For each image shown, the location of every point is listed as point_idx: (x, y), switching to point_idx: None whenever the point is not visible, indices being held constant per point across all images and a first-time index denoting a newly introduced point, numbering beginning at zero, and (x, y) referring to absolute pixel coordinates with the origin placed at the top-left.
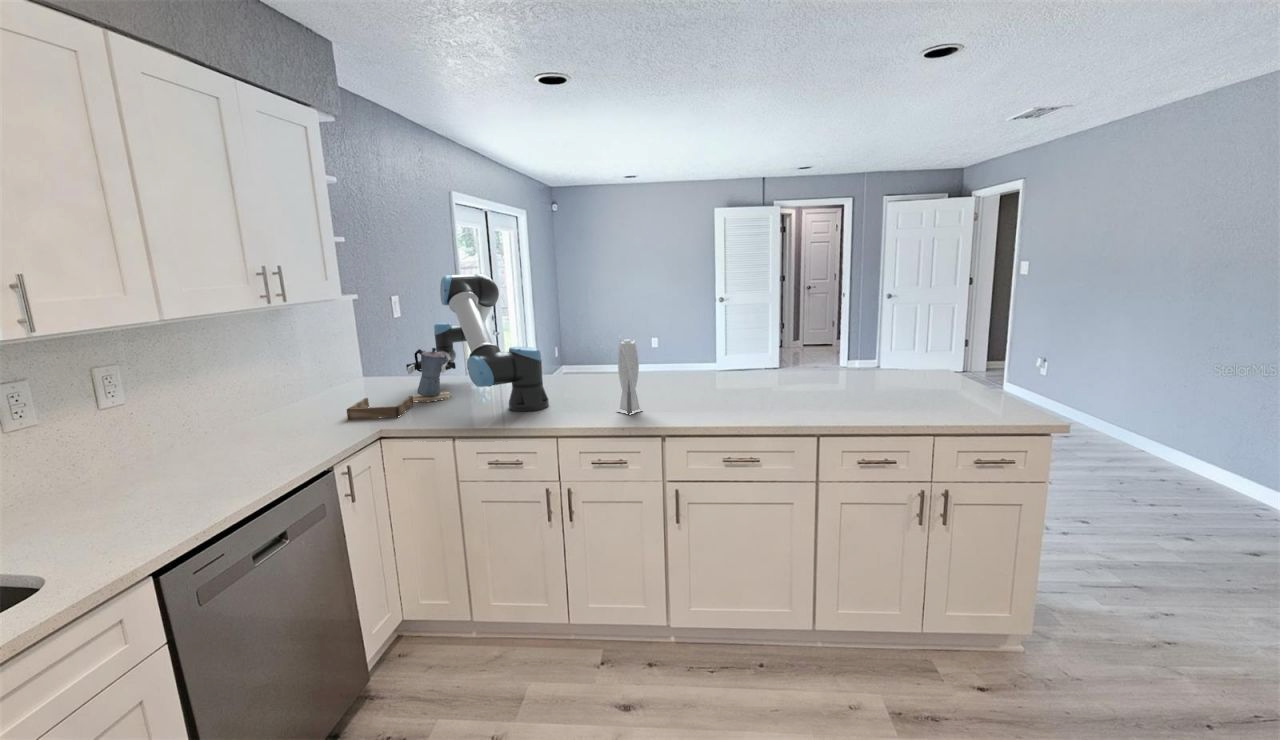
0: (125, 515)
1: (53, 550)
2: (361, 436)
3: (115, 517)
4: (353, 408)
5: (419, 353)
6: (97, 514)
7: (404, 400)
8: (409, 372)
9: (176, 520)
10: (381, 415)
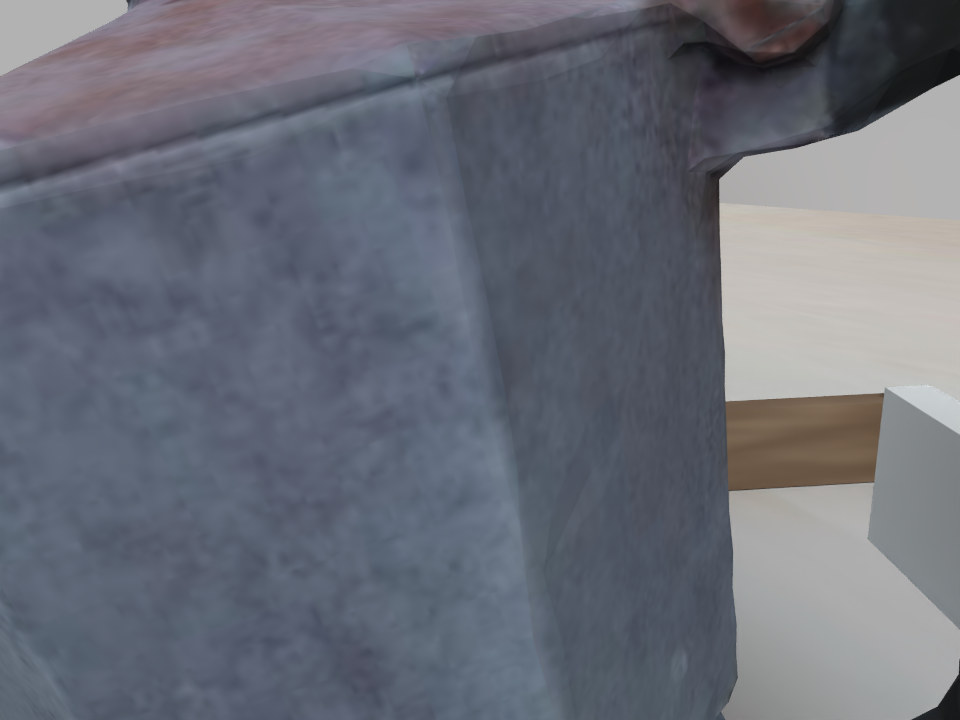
0: (736, 224)
1: None
2: None
3: (745, 223)
4: (866, 401)
5: (932, 68)
6: (796, 224)
7: None
8: (877, 500)
9: None
10: None
